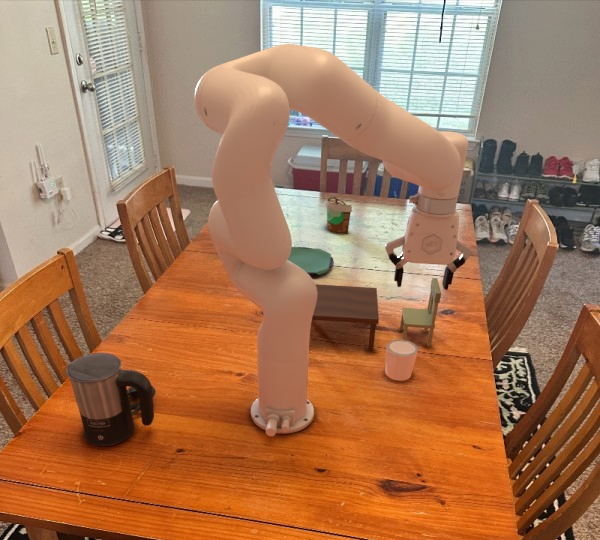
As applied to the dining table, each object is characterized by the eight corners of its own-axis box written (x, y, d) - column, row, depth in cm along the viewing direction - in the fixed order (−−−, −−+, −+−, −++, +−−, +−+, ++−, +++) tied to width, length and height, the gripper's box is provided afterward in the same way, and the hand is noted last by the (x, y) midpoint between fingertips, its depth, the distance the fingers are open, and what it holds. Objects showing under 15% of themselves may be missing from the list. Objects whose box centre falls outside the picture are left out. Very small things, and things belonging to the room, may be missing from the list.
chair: (430, 347, 134) (441, 293, 126) (401, 345, 135) (409, 291, 126) (427, 330, 141) (437, 278, 132) (399, 328, 141) (407, 276, 133)
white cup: (377, 377, 124) (381, 350, 120) (389, 362, 129) (392, 336, 125) (407, 386, 122) (412, 359, 117) (417, 371, 126) (422, 344, 122)
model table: (374, 353, 132) (378, 319, 126) (297, 348, 133) (298, 314, 127) (372, 320, 145) (376, 287, 139) (302, 315, 145) (303, 283, 140)
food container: (317, 225, 198) (318, 196, 192) (333, 223, 200) (334, 194, 194) (333, 237, 189) (335, 207, 183) (349, 235, 191) (352, 205, 185)
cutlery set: (331, 282, 161) (331, 275, 160) (227, 274, 164) (227, 267, 162) (335, 255, 177) (336, 248, 176) (241, 248, 179) (241, 241, 178)
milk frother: (82, 451, 103) (64, 384, 94) (83, 400, 114) (67, 337, 106) (162, 438, 106) (152, 373, 97) (155, 390, 118) (145, 328, 109)
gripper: (392, 207, 105) (381, 291, 116) (485, 212, 105) (466, 296, 115) (389, 194, 111) (379, 275, 122) (478, 199, 111) (460, 280, 121)
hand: (421, 285), depth 118 cm, fingers open, 9 cm apart
